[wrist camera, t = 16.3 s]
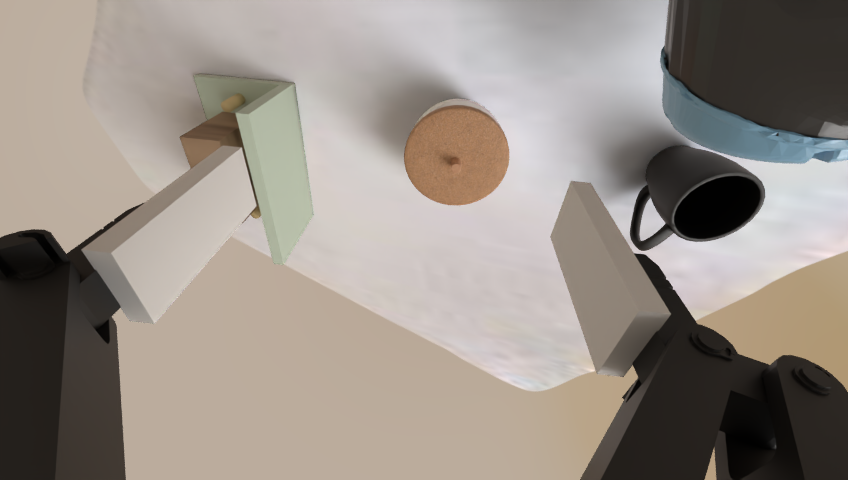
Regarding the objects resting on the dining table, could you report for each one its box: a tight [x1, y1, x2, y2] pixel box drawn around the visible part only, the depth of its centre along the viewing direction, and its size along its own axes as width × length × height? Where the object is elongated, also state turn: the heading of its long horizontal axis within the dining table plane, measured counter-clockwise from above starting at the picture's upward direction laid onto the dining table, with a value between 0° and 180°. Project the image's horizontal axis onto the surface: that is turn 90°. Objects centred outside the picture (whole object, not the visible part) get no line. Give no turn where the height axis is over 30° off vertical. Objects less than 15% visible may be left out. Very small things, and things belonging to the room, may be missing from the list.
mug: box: [630, 146, 765, 251], centre depth 40 cm, size 8×12×10 cm
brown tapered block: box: [180, 112, 259, 223], centre depth 41 cm, size 10×4×8 cm, turn 175°
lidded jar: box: [404, 99, 509, 205], centre depth 38 cm, size 11×11×9 cm
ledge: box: [194, 74, 314, 265], centre depth 41 cm, size 18×11×11 cm, turn 176°
